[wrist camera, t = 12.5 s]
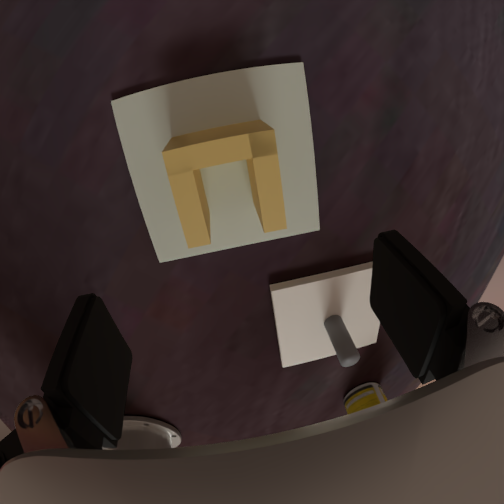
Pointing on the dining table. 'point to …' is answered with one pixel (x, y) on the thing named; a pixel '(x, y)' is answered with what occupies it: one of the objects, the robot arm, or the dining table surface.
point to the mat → (229, 174)
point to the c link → (220, 152)
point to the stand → (325, 316)
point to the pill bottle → (364, 397)
